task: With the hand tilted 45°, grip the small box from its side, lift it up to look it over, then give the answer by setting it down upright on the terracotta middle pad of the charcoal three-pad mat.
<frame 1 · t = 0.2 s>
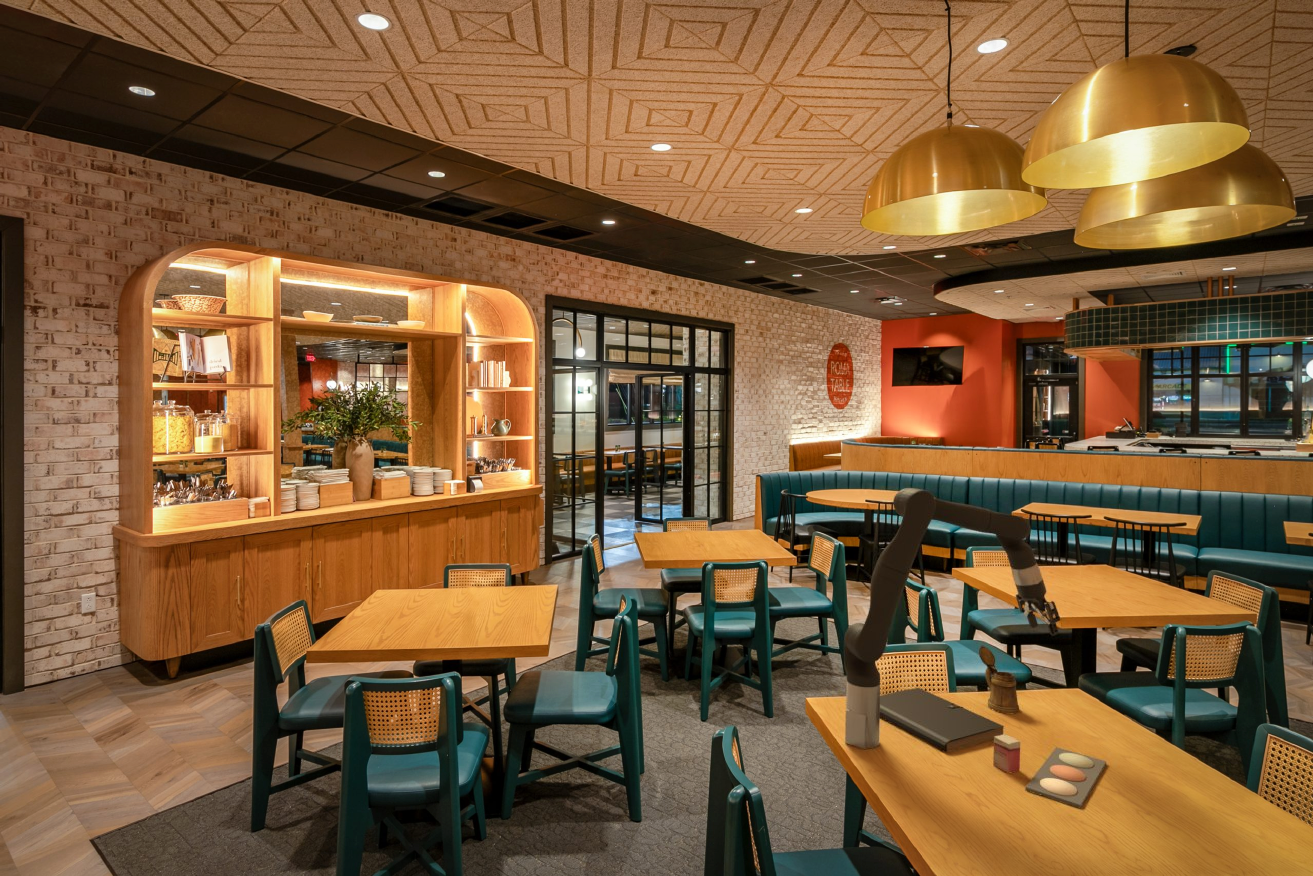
hand: (1044, 630, 206), 30 cm above the table, tool tilted 20°, fingers open, 8 cm apart
small box: (1006, 769, 185), on the table
wooden mug: (997, 706, 227), on the table
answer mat: (1067, 776, 181), on the table
file folder: (930, 724, 214), on the table
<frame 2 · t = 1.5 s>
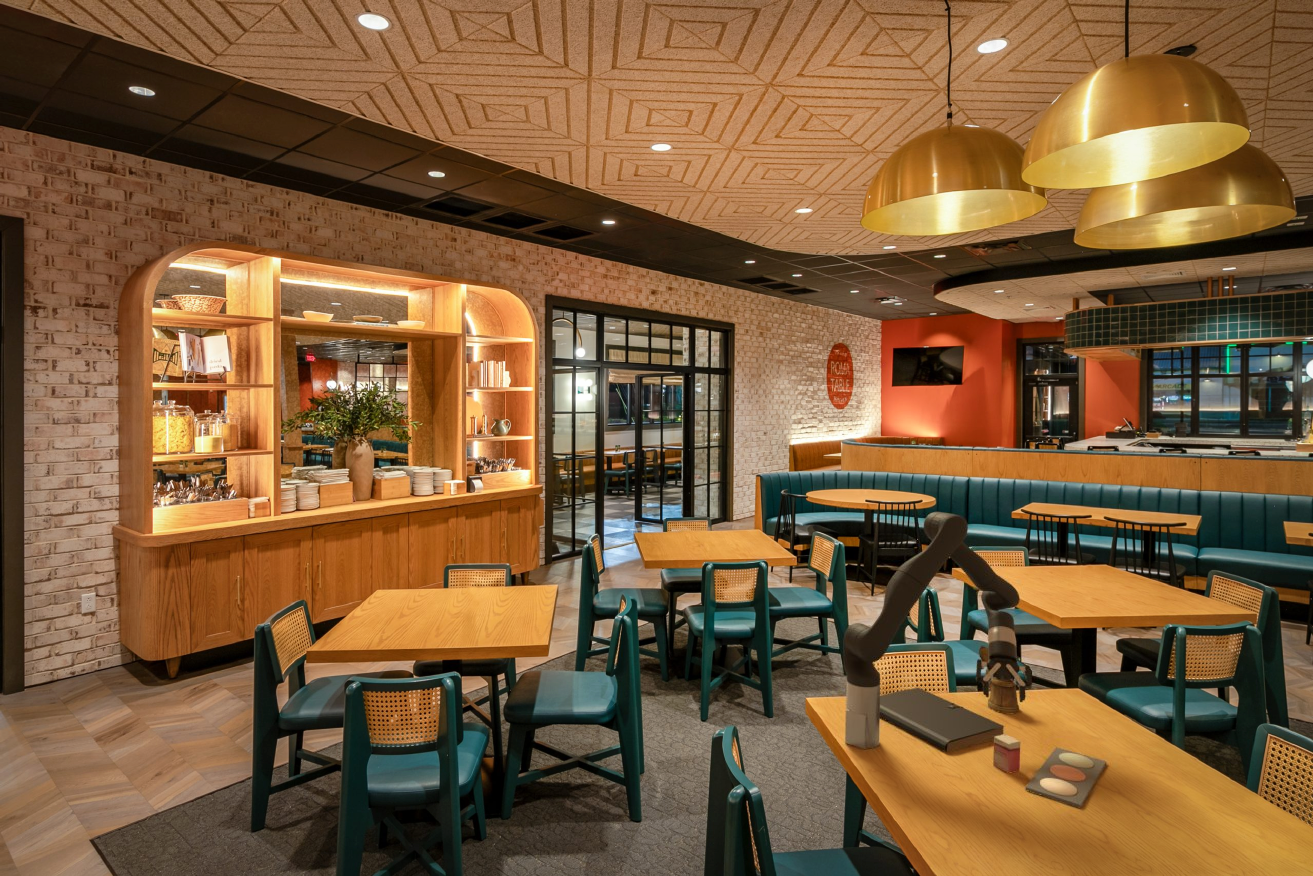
hand: (1004, 698, 195), 15 cm above the table, tool tilted 45°, fingers open, 8 cm apart
nothing on the table moved.
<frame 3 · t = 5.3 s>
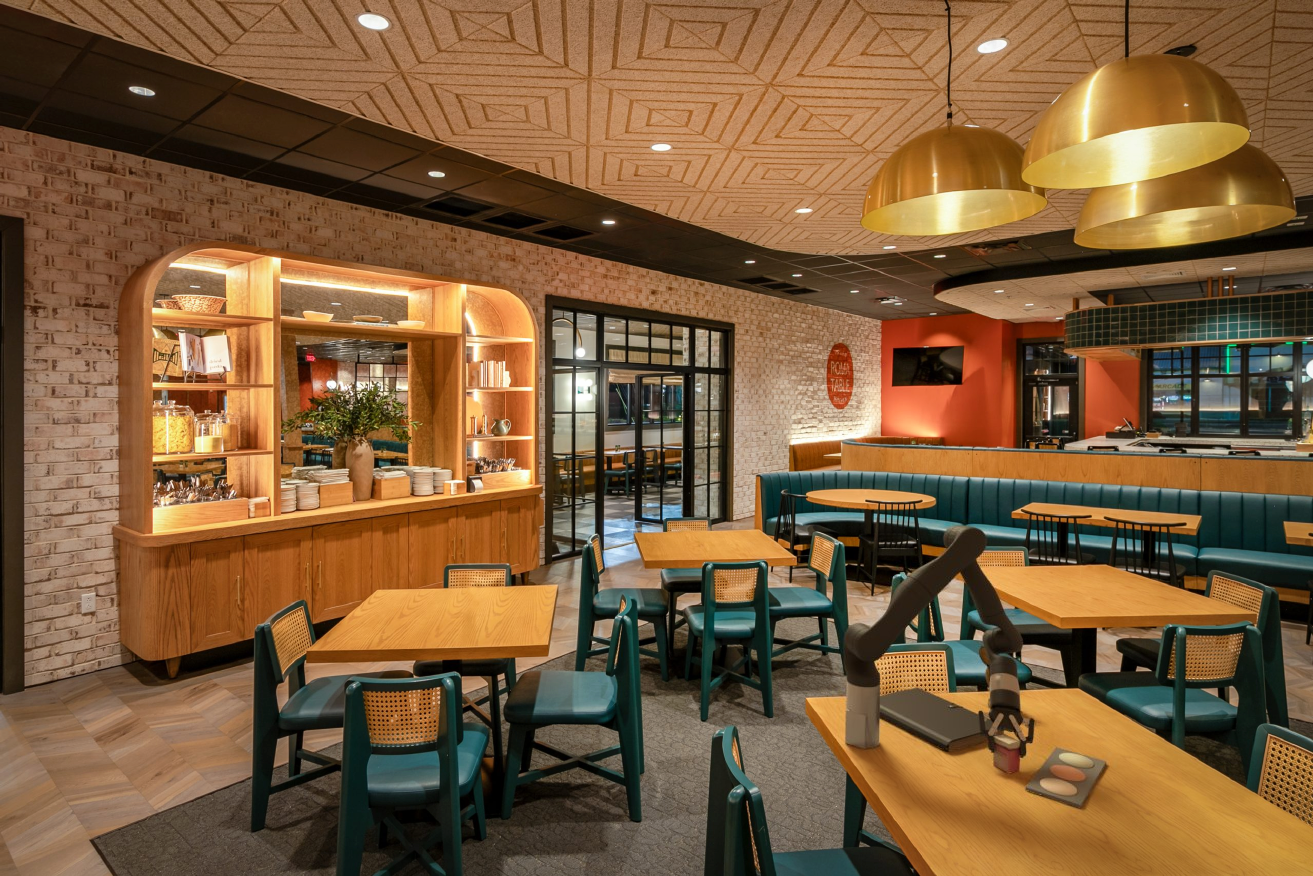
hand: (1007, 754, 183), 4 cm above the table, tool tilted 45°, fingers closed on small box, 6 cm apart
small box: (1006, 768, 185), on the table, touching gripper
everything else where it was.
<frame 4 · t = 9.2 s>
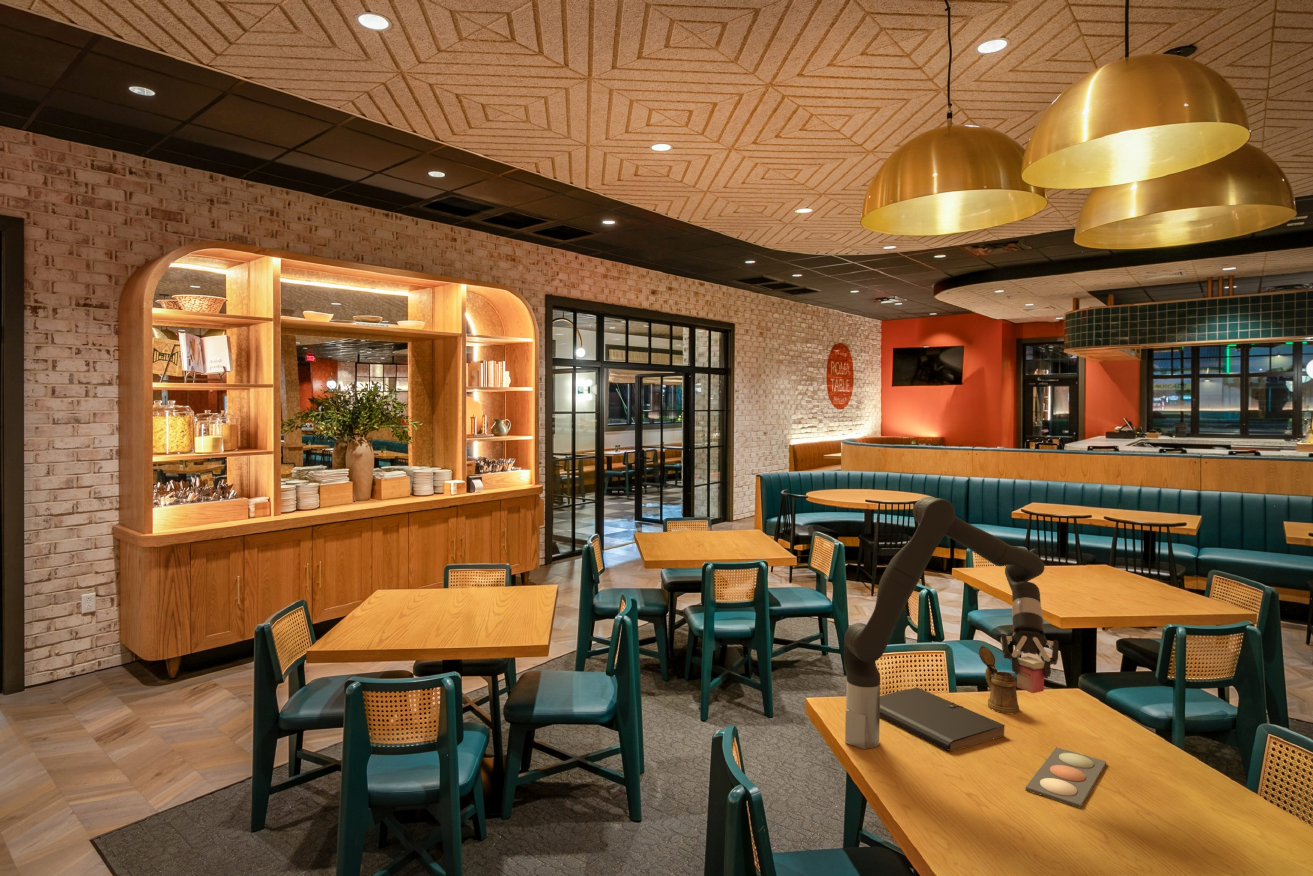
hand: (1031, 675, 181), 26 cm above the table, tool tilted 45°, fingers closed on small box, 6 cm apart
small box: (1030, 690, 183), point 22 cm above the table, touching gripper
everything else where it was.
when the fingers open (7 cm above the table, at t = 13.0 s): small box drops 1 cm, resting on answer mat.
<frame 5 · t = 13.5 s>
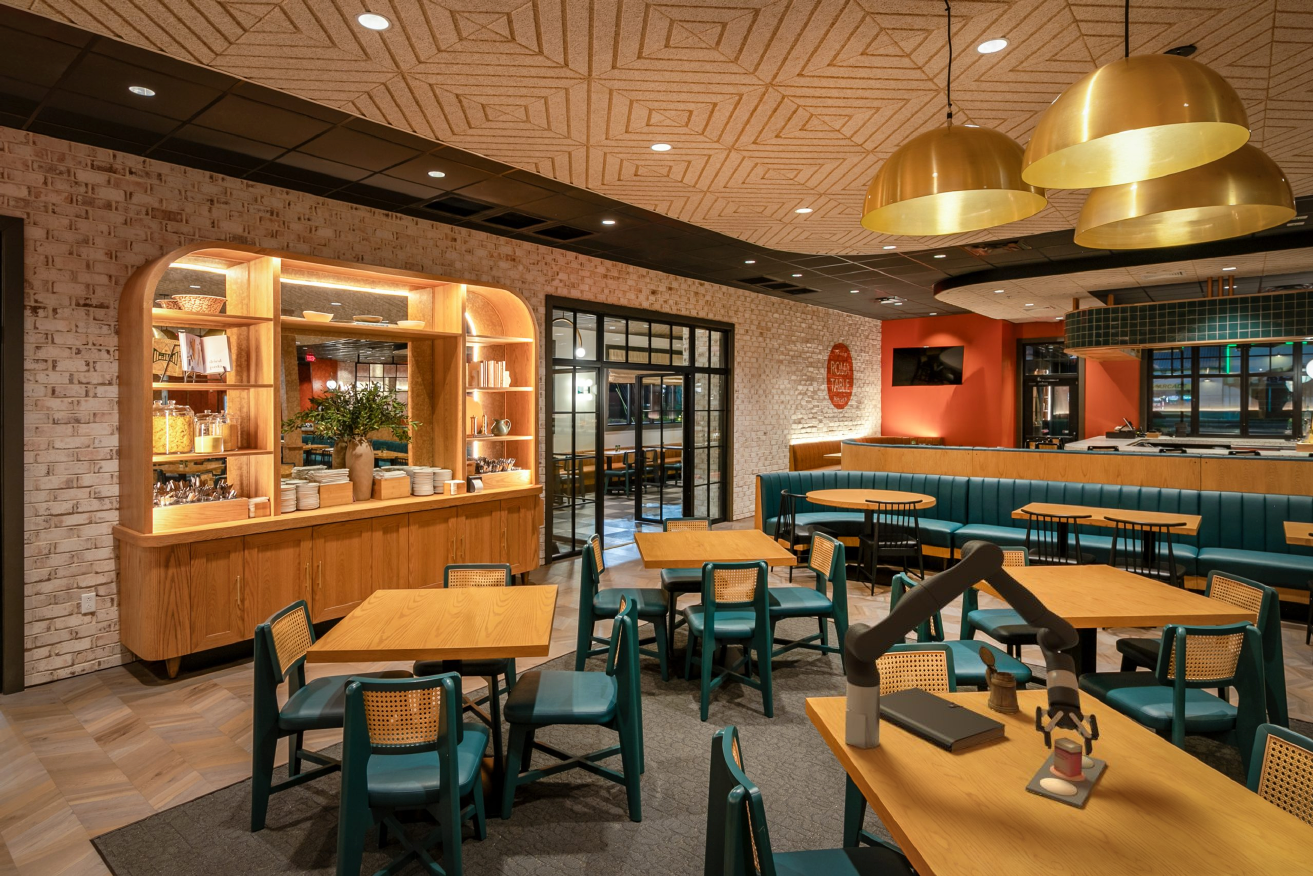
hand: (1068, 751, 179), 7 cm above the table, tool tilted 45°, fingers open, 8 cm apart
small box: (1067, 772, 181), point 1 cm above the table, touching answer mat
everything else where it was.
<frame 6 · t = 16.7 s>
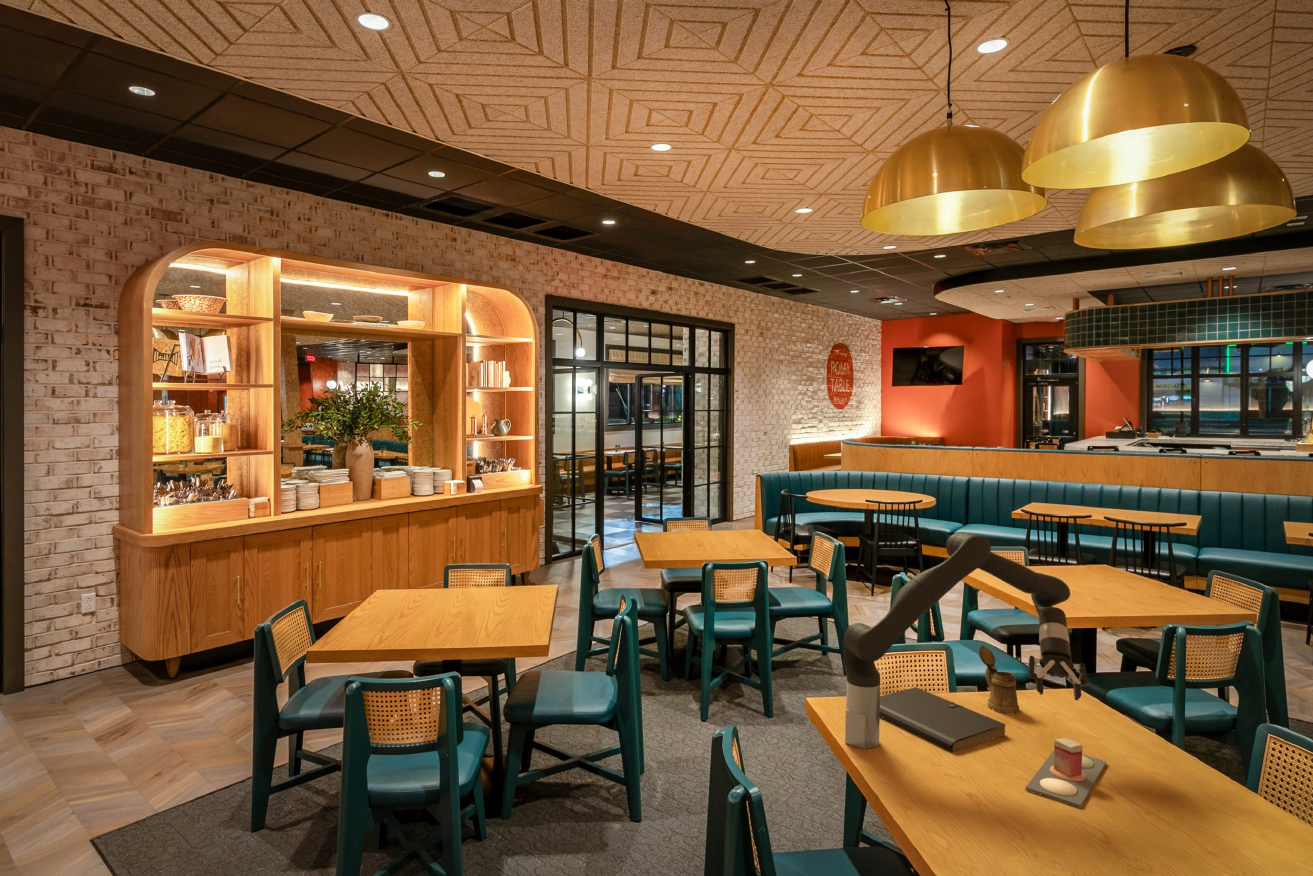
hand: (1059, 696, 191), 17 cm above the table, tool tilted 45°, fingers open, 8 cm apart
nothing on the table moved.
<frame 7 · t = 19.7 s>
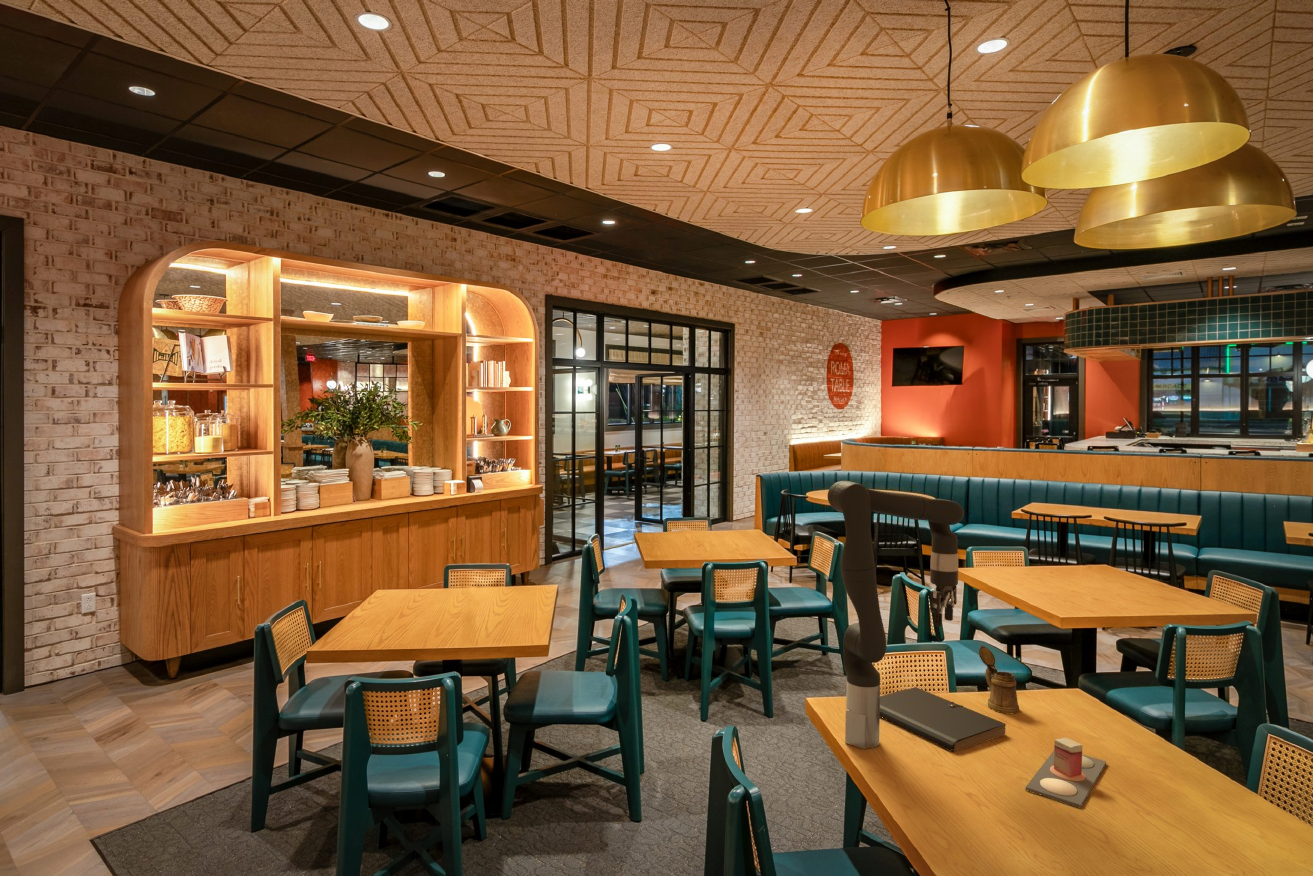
hand: (943, 623, 204), 33 cm above the table, tool pointing down, fingers open, 8 cm apart
at the end: small box inside the target area on the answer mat (0.3 cm from its centre), point 0.9 cm above the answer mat's base; small box tilted 0°; the gripper is holding nothing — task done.
